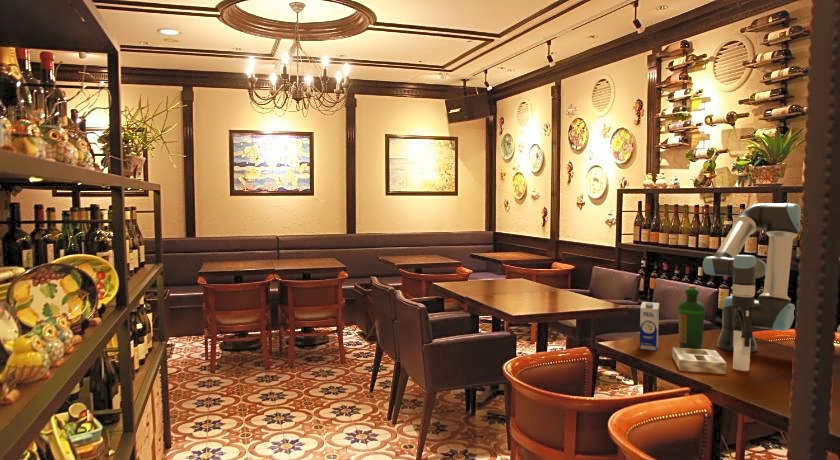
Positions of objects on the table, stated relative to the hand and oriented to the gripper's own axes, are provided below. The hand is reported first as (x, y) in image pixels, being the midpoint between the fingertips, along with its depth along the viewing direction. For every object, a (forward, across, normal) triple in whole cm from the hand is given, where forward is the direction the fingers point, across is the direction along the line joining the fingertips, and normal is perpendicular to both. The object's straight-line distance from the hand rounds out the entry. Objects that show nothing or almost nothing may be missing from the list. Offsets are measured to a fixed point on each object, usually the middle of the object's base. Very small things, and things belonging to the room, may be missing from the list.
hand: (741, 351), depth 226 cm
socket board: (+7, -2, -15) cm, 16 cm away
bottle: (+7, -26, -14) cm, 31 cm away
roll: (+7, 0, 0) cm, 7 cm away
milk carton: (+7, -24, -31) cm, 40 cm away
